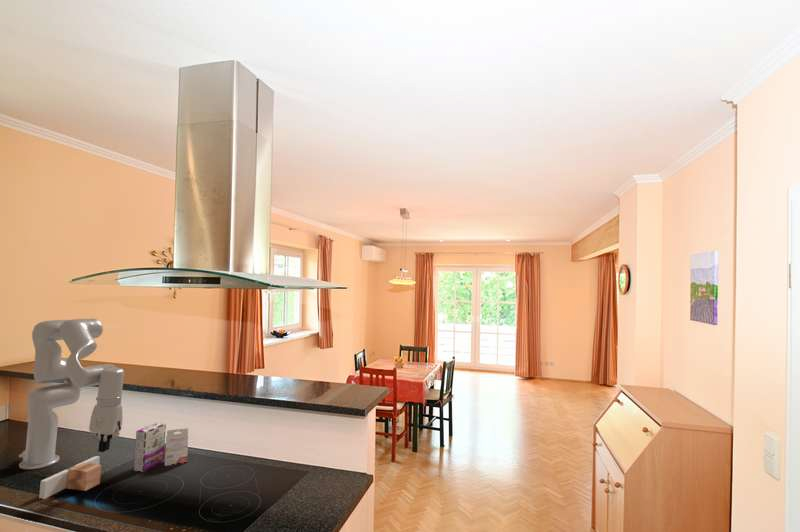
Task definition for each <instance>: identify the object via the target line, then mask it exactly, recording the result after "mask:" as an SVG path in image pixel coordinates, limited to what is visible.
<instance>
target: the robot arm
mask: <svg viewBox="0 0 800 532" xmlns="http://www.w3.org/2000/svg"><path fill="white" fill-rule="evenodd" d="M103 331H104V327H103V324H102V322H101V321H100V320H99V319H97V318H74V319H54V320H44V321H40V322H38V323H36V325H34V326H33V329H32V331H31V337H32V342H33V346H34V352H35V353H34V354H35V355H34V367H33V378H34V379H33V380H34V381H35V382H36V383H37V384H50V383H51V385H46V386H41V387H38V388H37V387H36V388H35V389H33V390H32V391H30V392H28V394H27V399H26V403H27V408H28V409H27V410H28V411H27V412H28V422H27V432H26V433H27V434H26V443H25V450H23V451H22V453H20V454H19V455H18V458H21V459H22V461H20V462H19V464H18V468H19V469H22V470H36V469H43V468H45V467H49V466H52V465H54V464H56V463H58V462H59V461H60V456H59V455H57V454H56V446H57V445H56V444H57V435H58V426H59V418H58V415H57V414H56V413H55V412H54V410H53V409H56V408H60V407H65V406H70V405H73V404H76V402H78V400H79V399H80V396H81V388H82V389H83V388H89V387H94V386H98V390H97V397H96V398H95V400H96V404H95V405H94V407H93V409H92V412H91V416H90V422H89V427H88V430H89V432H90V433H92V434H94V435H96V436H97V441H99V443H98V450H97V451H98V453H99V452H100V453H105V452H107V451H109V450H110V447H111V446H110V444H111V440H112V439H113V438H116V437H118V436H120V431H121V430H122V427H123V405H122V396H123V387H124V378H125V371H124V369H123V368H120V367H116V366H115V365H114V364H111V363H105V364H98V365H89V366H82V364H81V362H80V361H81V360H83V359H85V358H87V357H89V356H91V354H93V353H94V352H95V351H96V349H97V348H98V344H97V342H96V341H95V339H97V338H99V337H101V336H102V334H103ZM58 341H63V342H64V343H65V345H66V347H67V349H68V350H69V352H70V354H69V355H68V357H65V358H62V354H63V353H62V346H61V345H60V344H59V342H58ZM57 382H58V384H53V385H52V383H57ZM59 382H63V383H59Z"/></svg>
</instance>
